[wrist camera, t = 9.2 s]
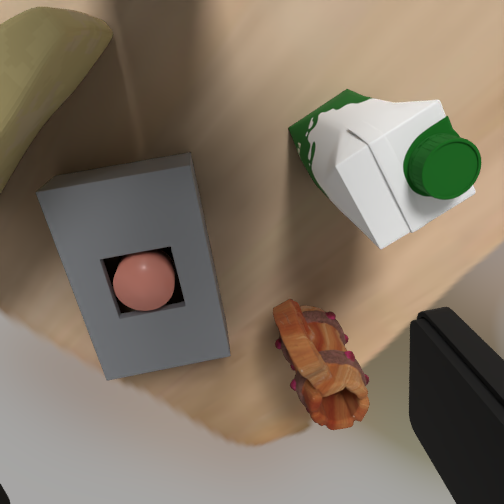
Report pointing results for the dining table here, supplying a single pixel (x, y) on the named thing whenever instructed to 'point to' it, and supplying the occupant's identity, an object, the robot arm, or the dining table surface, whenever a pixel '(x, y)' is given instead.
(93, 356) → the dining table surface
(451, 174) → the milk carton
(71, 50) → the cheese
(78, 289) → the box
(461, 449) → the robot arm
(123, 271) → the call button
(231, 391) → the dining table surface
